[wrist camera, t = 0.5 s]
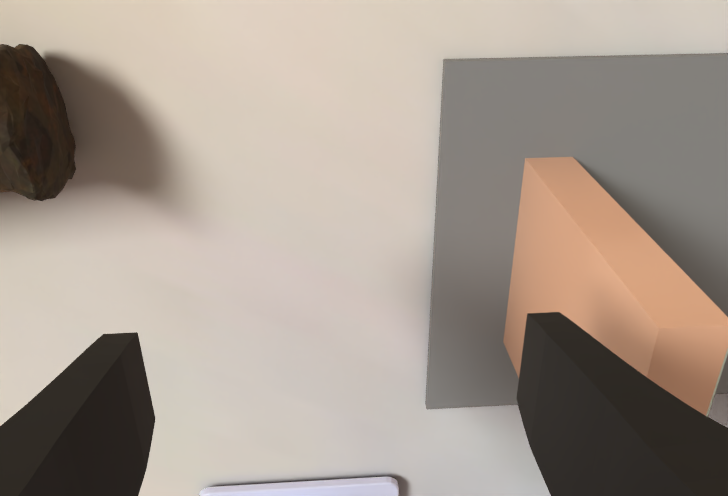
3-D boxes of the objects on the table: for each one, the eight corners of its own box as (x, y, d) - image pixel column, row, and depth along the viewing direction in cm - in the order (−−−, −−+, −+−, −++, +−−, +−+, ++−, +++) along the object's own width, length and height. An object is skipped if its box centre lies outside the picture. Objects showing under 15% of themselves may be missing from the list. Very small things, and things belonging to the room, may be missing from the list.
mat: (776, 385, 26) (781, 390, 26) (425, 403, 25) (426, 409, 25) (903, 49, 20) (911, 52, 20) (443, 59, 19) (445, 61, 19)
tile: (549, 339, 24) (666, 561, 16) (503, 341, 24) (598, 566, 16) (578, 156, 21) (745, 324, 13) (524, 158, 21) (659, 327, 13)
